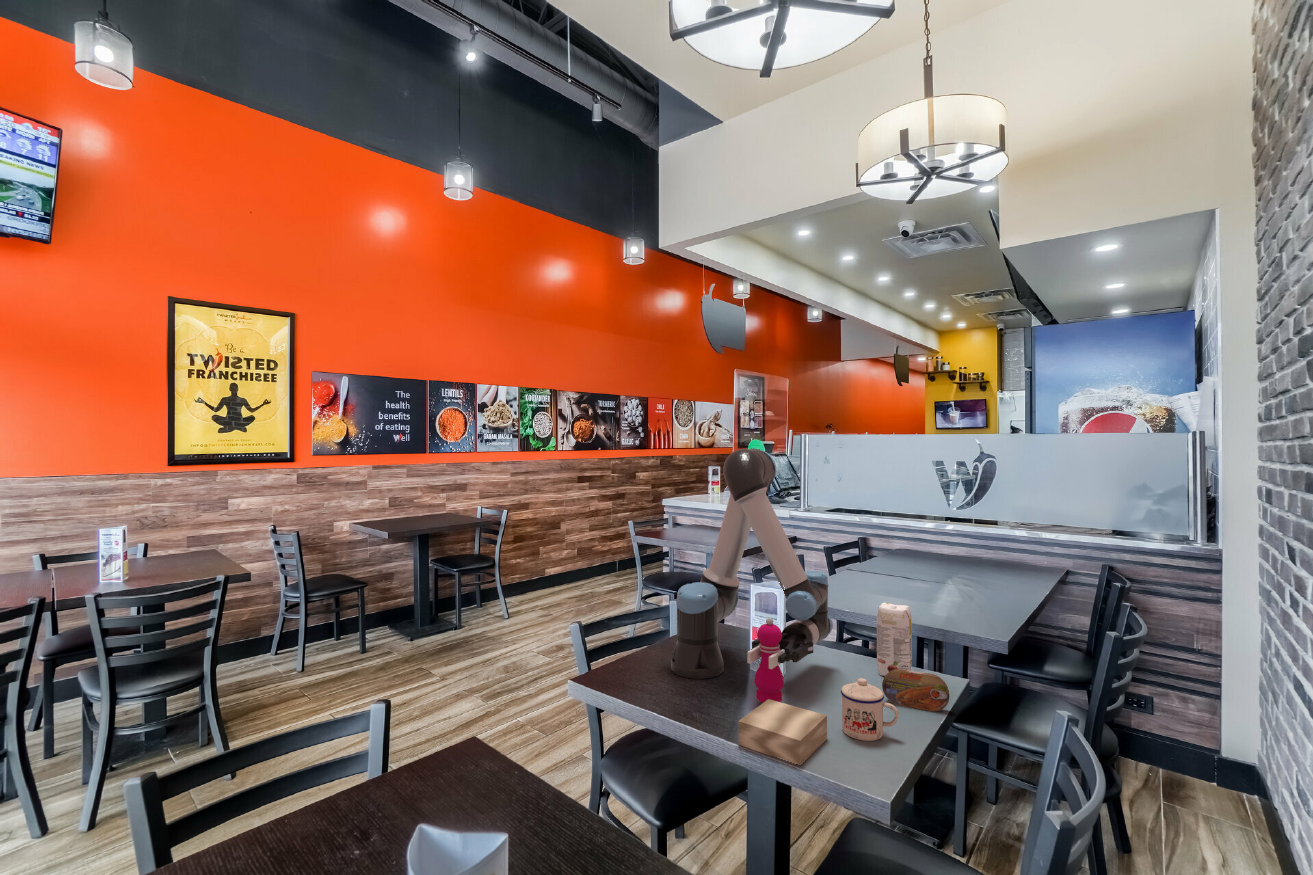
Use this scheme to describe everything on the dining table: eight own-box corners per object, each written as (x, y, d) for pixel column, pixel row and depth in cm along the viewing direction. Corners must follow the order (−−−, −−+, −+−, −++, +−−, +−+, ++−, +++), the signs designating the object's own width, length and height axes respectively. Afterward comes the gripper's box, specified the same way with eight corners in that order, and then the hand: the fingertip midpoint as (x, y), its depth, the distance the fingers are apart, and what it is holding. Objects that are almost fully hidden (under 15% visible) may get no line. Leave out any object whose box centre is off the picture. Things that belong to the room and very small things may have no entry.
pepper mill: (785, 695, 149) (785, 615, 150) (783, 707, 142) (783, 623, 143) (755, 691, 151) (756, 612, 151) (752, 703, 144) (753, 620, 144)
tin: (882, 702, 148) (881, 668, 148) (883, 697, 151) (883, 664, 151) (949, 715, 141) (949, 679, 141) (949, 709, 144) (949, 674, 144)
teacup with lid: (838, 736, 130) (837, 683, 131) (844, 719, 139) (843, 669, 139) (897, 748, 125) (896, 692, 125) (899, 730, 133) (899, 677, 134)
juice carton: (908, 681, 161) (908, 611, 161) (875, 675, 165) (874, 606, 166) (913, 672, 167) (912, 604, 168) (881, 667, 172) (880, 600, 172)
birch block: (738, 744, 127) (738, 720, 127) (768, 720, 138) (768, 698, 138) (800, 765, 118) (800, 740, 118) (827, 738, 129) (826, 715, 130)
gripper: (832, 657, 156) (794, 685, 137) (769, 643, 167) (726, 667, 148) (832, 628, 156) (794, 652, 137) (769, 616, 167) (726, 636, 148)
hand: (759, 660), depth 143 cm, fingers closed on pepper mill, 5 cm apart
